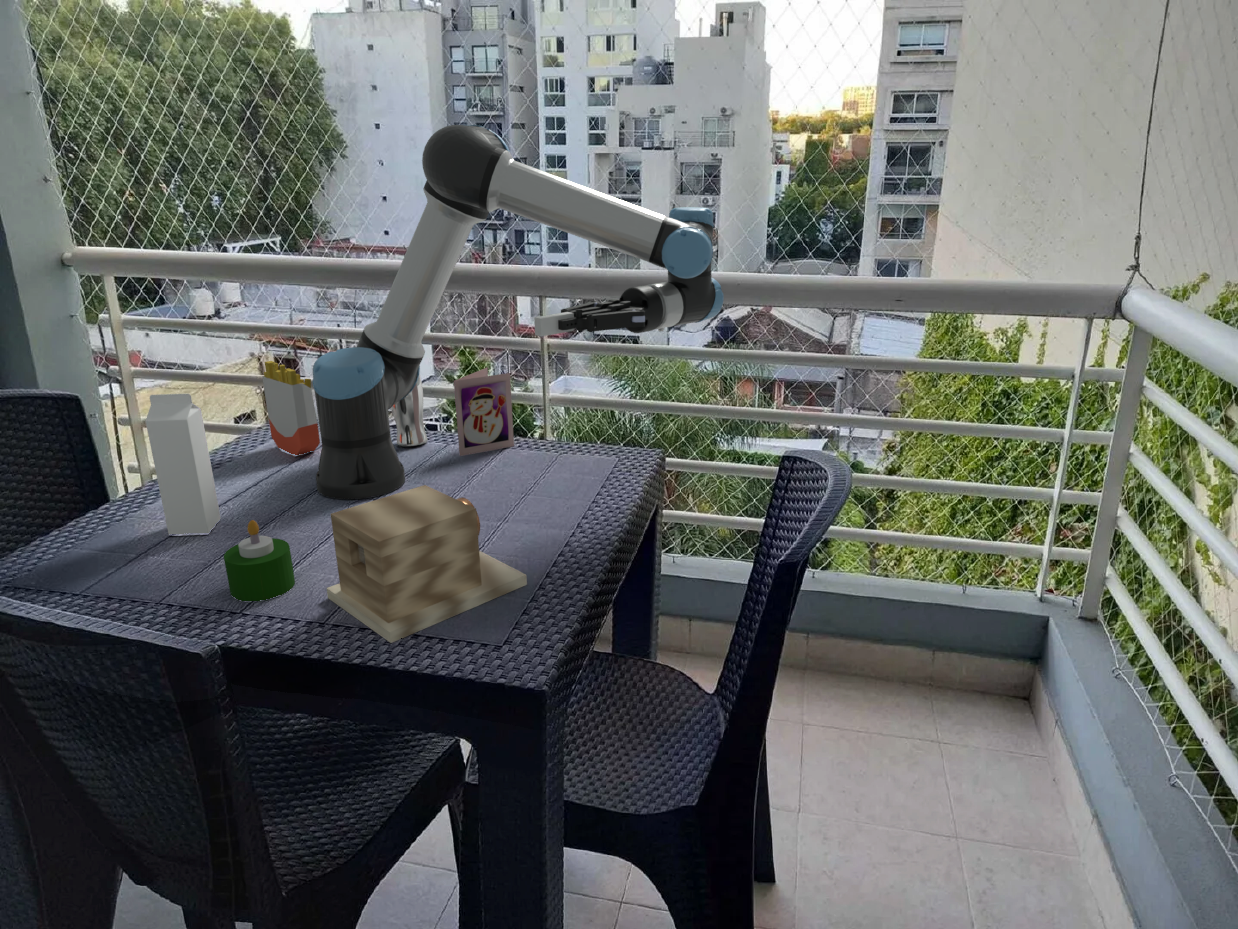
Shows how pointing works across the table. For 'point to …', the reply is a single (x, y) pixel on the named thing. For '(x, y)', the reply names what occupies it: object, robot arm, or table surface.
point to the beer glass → (410, 418)
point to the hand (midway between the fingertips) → (537, 326)
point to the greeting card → (483, 412)
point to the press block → (413, 562)
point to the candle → (259, 567)
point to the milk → (182, 464)
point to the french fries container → (290, 409)
